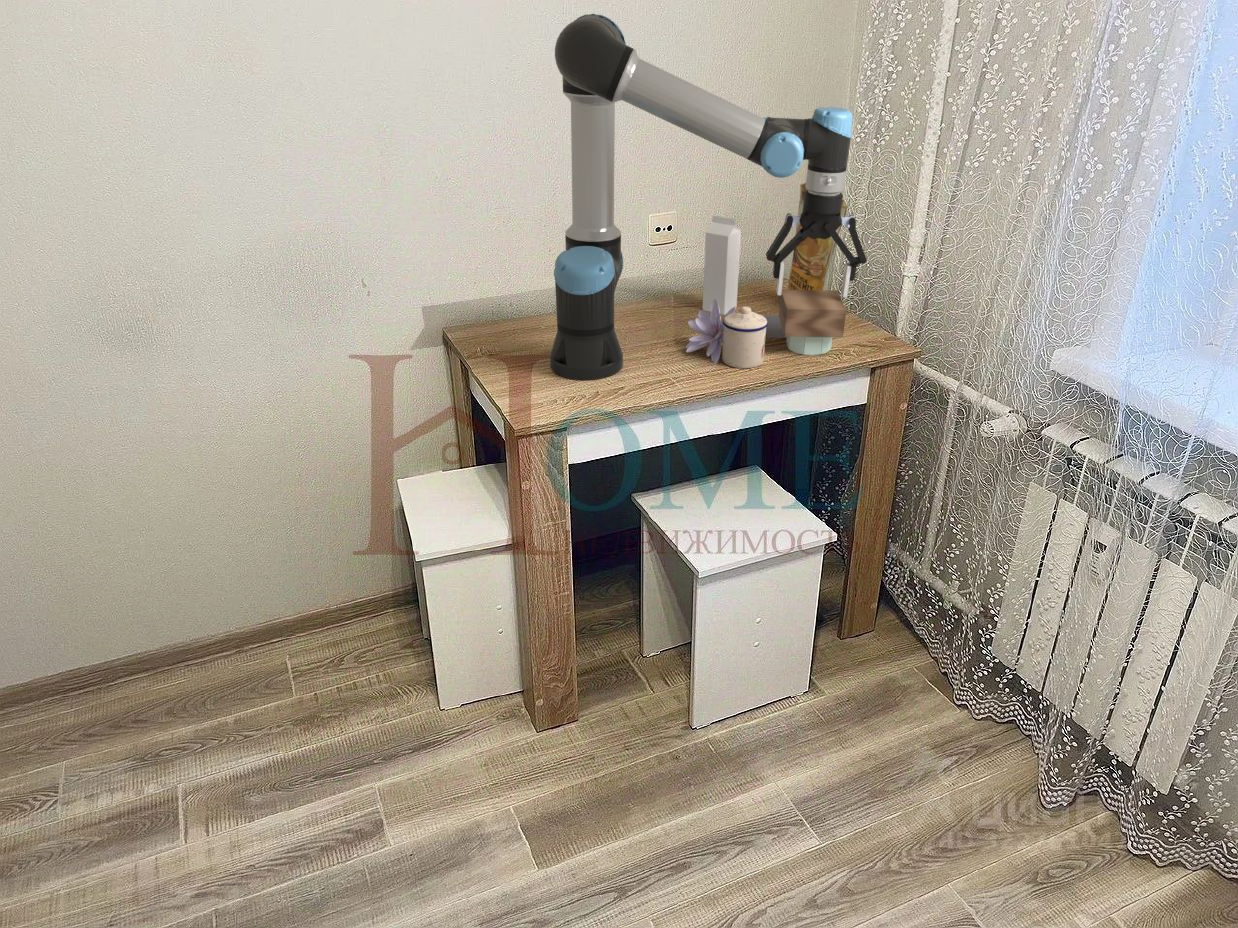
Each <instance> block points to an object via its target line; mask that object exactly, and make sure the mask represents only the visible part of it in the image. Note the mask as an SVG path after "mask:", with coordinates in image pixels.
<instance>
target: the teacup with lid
mask: <svg viewBox="0 0 1238 928" xmlns="http://www.w3.org/2000/svg"><path fill="white" fill-rule="evenodd" d="M762 315H763V314H760V313H756V312H754V311H752V308H751V307H750V306H743V307H741V309H740V310H739V311H737V312H736V311H735V312H734V313H731V314H729V315H727V316H726V317H725V316H724V317H725V318H724V317H723V319H724V320H722V322H723V324H724V331H723V333H724V335H723V343H722V352H721V354H722V355H721V356H722V357H721V360H722V361H723V363H724V364H725V365H728V366H730V367H732V368H736V369H752V368H756V367H759V366H761V365H762V364H763V363H764V360H765V348H766V338H765V337H766V327H767V325H768V323H767V320H766V318H765V317H764V316H762Z"/></svg>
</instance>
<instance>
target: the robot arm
mask: <svg viewBox="0 0 1238 928" xmlns="http://www.w3.org/2000/svg"><path fill="white" fill-rule="evenodd" d="M554 59H555V64H556V66H557V67H556V68H557V69H558V71H559V73H560V75H561V76H562V93H563V95H564V96H565V97H566V98H567V99H568V100H569V101H570V130H571V131H570V133H571V135H570V137H571V139H570V140H571V143H570V144H571V151H570V152H571V204H572V206H571V209H572V210H571V211H572V213H571V214H572V216H571V217H572V221H571V222H572V223H571V225H570V226H569V227H568V228H567V229H566V230H565V232H564V233H565V237H564V239H565V241H564V242H565V250H563V251H562V252H560V254H558V255H557V257H556V260H555V262H554V268H553V269H554V270H553V276H554V280H555V281H554V282H555V283H554V284H555V301H556V302H555V309H556V326H557V327H556V334H555V338H554V340H553V344H552V347H551V351H550V355H549V366H550V369H551V370H552V372H553V373H554V374H557V375H558V376H561V377H563V378H567V379H572V380H580V381H583V380H586V381H589V380H598V379H603V378H608V377H610V376H613V375H616V374H617V373H618V372H620V371H621V370H622V368H623V367H624V353H623V350H622V348H621V345H620V342H619V339H618V337H617V336H618V335H617V333H616V330H615V292H616V288H617V285H618V282H619V279H620V278H621V275H622V272H623V269H624V256H623V252H622V231H621V230H620V228H619V227H617V225H615V140H616V139H615V137H616V136H615V134H616V133H615V131H616V129H615V125H616V122H615V120H616V119H615V117H616V116H615V115H616V108H615V107H616V103H617V102H620V101H623V102H625V103H627V104H629V105H631V106H634V107H635V108H637V109H640V110H642V111H644V112H647V113H648V114H651V115H652V116H655V117H657V118H659V119H661V120H664V121H665V122H667V123H670V124H672V125H673V126H676V127H678V128H680V129H683V130H684V131H687V132H689V133H691V134H693V135H694V136H695V135H696V136H698V137H699V138H702V139H704V140H705V141H707V142H710V143H711V144H715V145H716V146H719V147H721V148H722V149H724V150H727V151H729V152H730V153H731V152H732V153H734V154H736V155H738V156H740V157H742V158H744V159H746V160H748V161H750V162H752V163H753V164H756V165H758V166H760V167H761V168H763V170H764V171H765V172H766V173H767V174H768V175H770V176H773V177H774V178H780V179H781V178H782V179H783V178H787V177H788V178H789V177H791V176H792V175H794V174H795V173H797V171H799V169H800V167H801V166H802V165H803V161H804V160H806V161H807V162H808V163H807V170H806V177H805V183H806V185H805V188H806V189H807V191H806V192H805V194H804V203H803V211H802V214H801V216H798V215H793V214H792V213H789V212H788V213H786V215H785V219H784V223H783V226H782V227H781V229H780V230H779V232H778V233H777V235H776V236H775V239H774V240H773V242H772V243H771V245H770V246H769V247H768V249H767V251H766V253H765V256H766V260H767V261H770V262H773V269H772V276H773V278H774V279H777V282H776V288H775V289H776V290H775V291H776V295H777V296H780V295H781V292H782V290H783V280H784V273H785V262H784V260H785V259H786V258H787V257H788V256H789V255H790V254H792V253H793V251H794V249H795V248H796V247H797V246H798V245H799V244H800V243H801V242H802V241H804V240H805V239H806V238H807V237H810V238H811V239H817V238H821V239H827V238H829V237H832V238H833V240H834V241H835V242H836V245H837V246H838V248H839V249H840V250H841V252H842V254H843V255H844V256H845V258H846V260H847V261H848V262H845V264H844V271H843V278H842V284H841V286H842V287H841V292H840V294H841V295H842V297H843V298H848V292H849V287H850V282H854V281H855V278H856V272H857V267H858V265H860V264H861V265H862V264H866V263H867V261H868V260H867V257H866V254H865V252H864V251H865V250H864V248H863V246H862V243H861V241H860V238H859V235H858V232H857V230H856V229H857V228H856V226H857V220H856V218H855V216H854V215H852V214H850V215H848V216H845V217H842V218H841V207H842V200H844V199H843V198H844V194H843V193H842V192H843V191H844V190H845V181H846V176H847V174H846V173H847V167H848V160H849V154H850V148H851V147H850V146H851V140H852V136H853V135H852V130H853V129H852V128H853V116H854V115H853V113H852V112H851V110H849V109H847V108H843V107H836V106H835V107H834V106H827V107H825V106H823V107H817V108H815V109H814V110H813V114H812V117H810V118H789V117H787V118H785V117H771V116H767V117H762V116H759V115H758V114H755V113H753V112H751V111H749V110H748V109H745V108H743V107H741V106H739V105H738V104H737V105H736V104H735V103H732V102H730V101H728V100H726V99H725V98H722V97H720V96H718V95H716V94H714V93H712V92H710V91H707V90H706V89H703V88H702V87H699V86H697V85H695V84H693V83H691V82H689V81H687V80H685V79H682V78H680V77H679V76H677V75H675V74H672V73H670V72H668V71H666V70H664V69H662V68H659V67H658V66H656V65H653V63H652V64H651V63H650V62H648V61H645V60H644V59H641V58H640V57H639V55H638V53H637V50H636V49H635V48H634V47H631V46H628V45H627V42H626V40H625V36H624V34H623V32H622V30H621V28H620V26H619V25H618V24H617V23H616V22H615V21H614V20H612V19H611V18H609V17H607V16H606V15H603V14H596V13H591V14H587V13H586V14H583V15H580V16H579V17H577V18H576V19H574V20H573V21H572V22H570V23H568V24H567V25H566V26H565V27H564V28H563V29H562V30H561V31H560V33H559V35H558V37H557V39H556V42H555V46H554ZM798 222H800V224H801V226H802V228H801V229H800V230H799V231H798V233H797V234H796V235H795V234H794V236H793V237H792V238H791V239H790V240H789V241H788V242H787V243H786V244H785V245H784V246H783V247H782V248H781V250H779V249H780V247H781V246H782V245H783V243H784V241H785V240H786V238H787V236H788V235H789V233H790V231H791V230H792V228H793V227H796V224H797V223H798ZM841 224H842V225H844V227H845V228H846V229H848V232H849V235H850V237H851V240H852V243H853V245H854V246H853V247H854V249H855V252H856V254H857V256H854V255H853V253H852V251H850V249H849V247H848V246H847V245H846V243H845V242H844V241H843V240H842V238H841V237H840V234H839V235H838V234H837V232H836V230H837V229H838V228H839V227H840V225H841Z"/></svg>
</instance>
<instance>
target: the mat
mask: <svg viewBox="0 0 1238 928" xmlns="http://www.w3.org/2000/svg"><path fill="white" fill-rule="evenodd" d="M761 315H762V316H764V317H765V318H766V320H767V323H768V325H767V327H766V337H765V339H787V337H785V336H784V332H783V329H782V326H781V322H780V319H779V314H777V315H776V314H761Z"/></svg>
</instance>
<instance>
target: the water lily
mask: <svg viewBox="0 0 1238 928" xmlns="http://www.w3.org/2000/svg"><path fill="white" fill-rule="evenodd" d="M736 309H737V307H733V308H731V309H730V310H729V311H728V312H727V314H725V315H724V317H723V320H724V318H725V317H726V316H727V315H729V314H731V313H736ZM721 315H722V314H720V310H719V306H718V303H717V300H716V299H714V300H713V302H712V304H711V312H710V314H709V313H708V311H705V310H703V309H702V310H699V311H698V315H697V317H696V318H695V319H690V320H688V322H687V323H688V326H689V327H690V328H691V329H692V330H693V331H694V332H696V333H698V334H699V335H693V336H692V337H689V339H688V341H689V342H688V344H687V345H686V346H685V349H686V351H685V353H691V352H695V351H698V350H700V349H702V348H705V347H706V346H708V345H709V346H708V347H707V349H706V356H707V357H710V356H711V357H710V358H711V362H712V363H713V364H714V365H718V362H719V360H720V358H721V354H722V344H723V335H724V324H723V320H722V317H721Z"/></svg>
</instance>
